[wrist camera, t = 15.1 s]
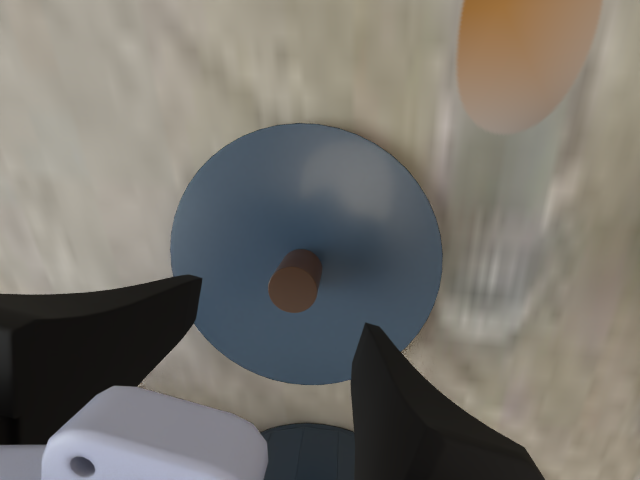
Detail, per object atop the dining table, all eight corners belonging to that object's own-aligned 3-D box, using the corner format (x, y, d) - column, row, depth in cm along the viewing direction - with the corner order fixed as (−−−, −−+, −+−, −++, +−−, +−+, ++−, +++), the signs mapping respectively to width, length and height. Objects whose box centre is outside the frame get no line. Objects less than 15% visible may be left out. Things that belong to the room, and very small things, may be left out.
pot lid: (210, 381, 23) (178, 433, 18) (150, 148, 19) (90, 143, 14) (443, 366, 21) (469, 419, 16) (430, 103, 17) (459, 81, 12)
